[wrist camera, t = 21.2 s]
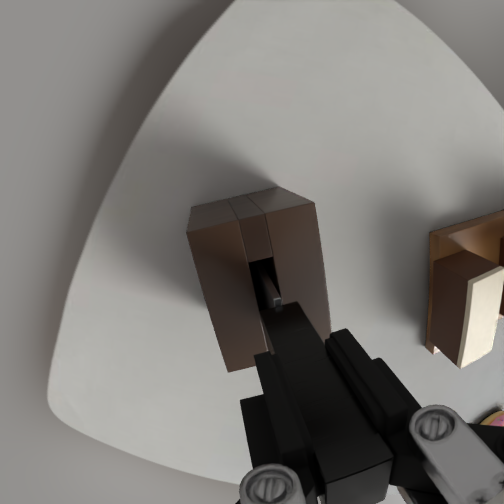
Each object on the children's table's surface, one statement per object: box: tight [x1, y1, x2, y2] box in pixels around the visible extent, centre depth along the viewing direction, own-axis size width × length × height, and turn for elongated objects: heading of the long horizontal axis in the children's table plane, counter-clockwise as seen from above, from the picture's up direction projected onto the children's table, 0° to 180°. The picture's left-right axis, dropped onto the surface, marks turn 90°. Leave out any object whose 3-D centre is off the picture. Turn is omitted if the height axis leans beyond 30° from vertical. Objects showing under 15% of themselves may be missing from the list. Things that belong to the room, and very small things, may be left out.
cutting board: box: [425, 210, 504, 355], centre depth 26 cm, size 12×16×2 cm
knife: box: [248, 260, 395, 504], centre depth 14 cm, size 3×2×18 cm, turn 12°
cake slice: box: [429, 249, 504, 369], centre depth 22 cm, size 8×4×5 cm, turn 12°
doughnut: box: [480, 411, 504, 426], centre depth 36 cm, size 11×11×4 cm
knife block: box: [186, 187, 332, 372], centre depth 19 cm, size 8×6×7 cm
